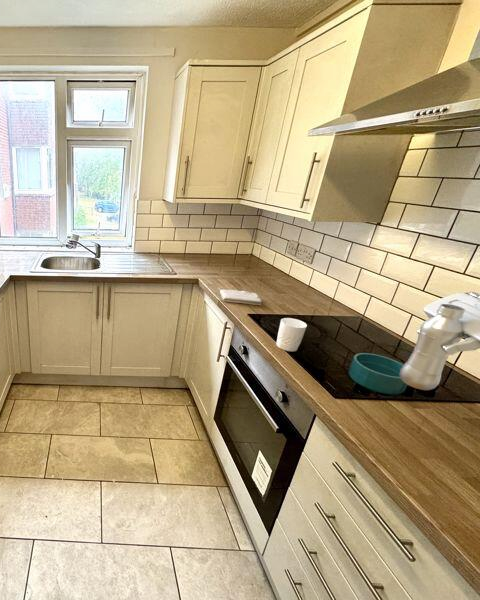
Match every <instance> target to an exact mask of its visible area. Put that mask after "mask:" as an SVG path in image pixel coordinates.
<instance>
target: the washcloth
mask: <svg viewBox="0 0 480 600" xmlns="http://www.w3.org/2000/svg"><path fill="white" fill-rule="evenodd" d="M219 294H220V296H221V299H222V301H223V302H226V303H235V304H245V305H251V306H261V305H262V302H263V300H262V299H261V298H260V296H259V294H257V293H256V292H249V291H246V290H236V289H220V290H219Z"/></svg>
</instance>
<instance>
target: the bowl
mask: <svg viewBox="0 0 480 600" xmlns="http://www.w3.org/2000/svg"><path fill="white" fill-rule="evenodd" d="M403 365H404V363H401V362H399V361H397V360H395V359H393V358H390V357H387V356H384V355H380V354H375V353H369V352H360V353H356V354H355V355H354V356H353V358H352V360H351V363H350V364H349V368H348V372H347V373H348V376H349V377H350V378H351V379H352V380H353V382H355V383H357V384H359V385H360V386H362V387H364V388H366V389H368V390H371V391H373V392H377V393H380V394H385V395H401V394H402V393H404V392H405V391H406V389H407V388H408V386H409V385H407V384H405V383H404V382H403V381H402V380H401V378H400V376H399V374H400V370H401V368H402V367H403Z"/></svg>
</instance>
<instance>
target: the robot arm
mask: <svg viewBox="0 0 480 600" xmlns="http://www.w3.org/2000/svg"><path fill="white" fill-rule="evenodd" d="M441 304H450V305H455V306H459V307H462V308H464V309H465V312H464V314H463V317H462V318H461V319H459V321H460V323H461V324H462V331H463V332H464V336H463V337H462V338H463V339H464V341H459V343H454V344H453V343H451V342H450V343H448V344H445V345H442V346H441V348H442V349H443V350H444V351H445V352H446V353H448V354H449V356H453V355H455V354H458V353H460V352H470V351H477V350H479V349H480V294H479V293H478V292H475V291H470V292H458V293H453V294H450V295H447V296H444V297H442V298H440V299H437V300H434V301H433V302H430V303H428V304H425V305H424V307H423V309H422V311H423V313H424V314H425V315H426V316H427V317H428V319H429V318H431V317H433V316H436V315H437V313H436V312H437V310H438V309H439V307H440V305H441ZM419 331H420V328H419V329H417V330H416V333H417V335H419Z"/></svg>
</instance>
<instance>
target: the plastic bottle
mask: <svg viewBox="0 0 480 600" xmlns="http://www.w3.org/2000/svg"><path fill="white" fill-rule="evenodd" d="M464 312H465V309H464V308H462V307H459V306H455V305H450V304H441V305H440V307H439V309H438V310H437V312H436V313H437V315H436V316H433V317H431V318H429V317H428V318H427V319H426V320H424V321H423V322H422V323H421V325H420V328H419V329H420V331H419V334H418V336H417V340H416V342H415V346H414V348H413V350H412V352H411V354H410V356H409V357H408V359H407V360H406V361H405V362H404V363H403V367H402V368H401V370H400V374H399V376H400V378H401V380H402V381H403V382H404V383H405V384H407V385H408V386H409V387H412V388H415V389H418V390H420V391H421V390H422V391H431V390H434V389H436V388H437V387H438V385H440V382H441V379H442V373H443V370H444V367H445V364H446V362H447V360H448V358H449V356H450V355H449V354H448V353H446V352H445V351H444V350H443V349H442V348H441V346H442V345H445V344H448V343H450V342H451V343H453V344H454V343H459V342H461V340H462V339H463V338H464V337H463V336H464V332H463V331H462V324H461V323H460V321H459V319H461V318H462V317H463V314H464Z"/></svg>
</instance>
